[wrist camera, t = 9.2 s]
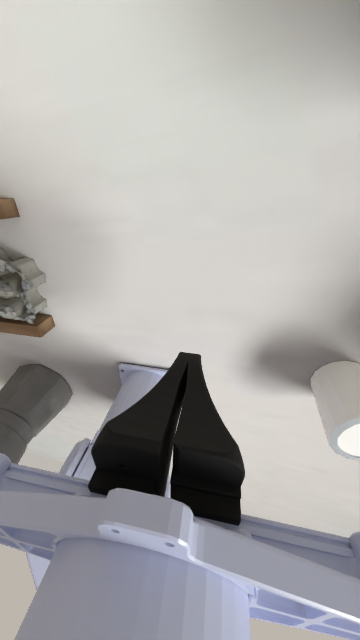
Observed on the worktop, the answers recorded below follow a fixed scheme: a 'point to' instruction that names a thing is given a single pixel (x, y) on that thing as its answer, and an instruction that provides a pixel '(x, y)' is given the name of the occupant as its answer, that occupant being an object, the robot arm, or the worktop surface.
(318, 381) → the shot glass
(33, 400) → the coffeepot
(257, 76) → the worktop surface
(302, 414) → the worktop surface
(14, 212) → the walnut bracket
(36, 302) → the egg carton
